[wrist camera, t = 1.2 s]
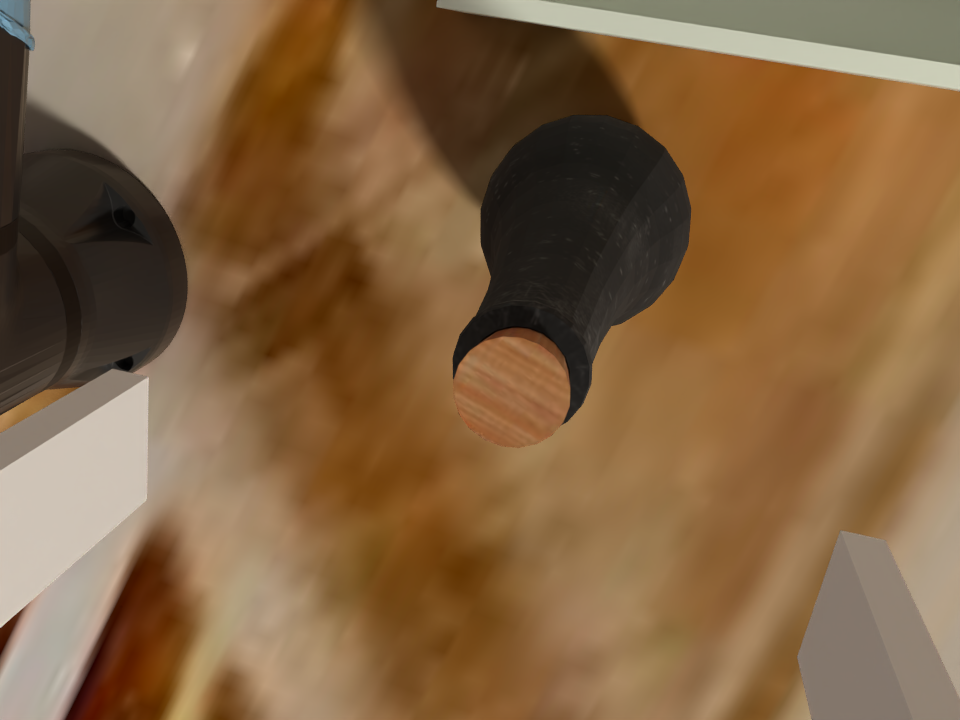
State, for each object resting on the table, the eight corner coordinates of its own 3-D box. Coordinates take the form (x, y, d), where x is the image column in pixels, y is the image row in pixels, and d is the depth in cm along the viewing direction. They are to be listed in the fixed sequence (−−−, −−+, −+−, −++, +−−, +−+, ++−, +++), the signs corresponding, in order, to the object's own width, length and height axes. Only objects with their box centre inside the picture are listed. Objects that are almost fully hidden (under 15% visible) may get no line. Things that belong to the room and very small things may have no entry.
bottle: (555, 72, 48) (416, 97, 20) (725, 166, 48) (819, 321, 20) (470, 239, 52) (254, 453, 24) (626, 326, 52) (590, 640, 24)
